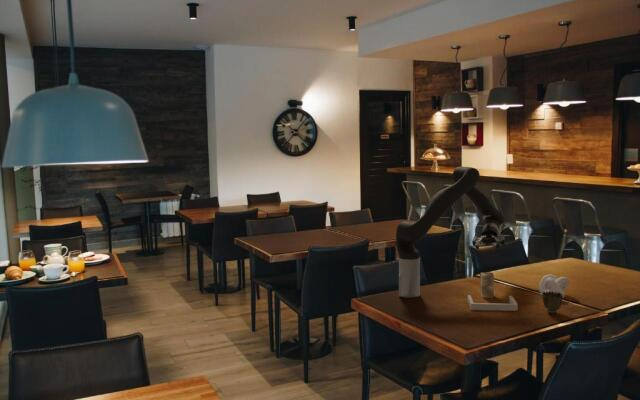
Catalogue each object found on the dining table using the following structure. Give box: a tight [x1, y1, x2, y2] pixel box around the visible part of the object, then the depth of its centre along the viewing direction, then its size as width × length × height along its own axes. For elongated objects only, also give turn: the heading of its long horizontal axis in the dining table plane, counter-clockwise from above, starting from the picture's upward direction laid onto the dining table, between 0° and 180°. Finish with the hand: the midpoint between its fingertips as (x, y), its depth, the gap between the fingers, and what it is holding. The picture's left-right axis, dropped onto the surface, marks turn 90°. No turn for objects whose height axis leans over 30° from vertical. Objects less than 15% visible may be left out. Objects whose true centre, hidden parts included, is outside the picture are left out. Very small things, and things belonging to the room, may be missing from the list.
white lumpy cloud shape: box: [538, 273, 569, 299], centre depth 252 cm, size 11×12×9 cm
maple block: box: [480, 272, 495, 299], centre depth 254 cm, size 5×5×10 cm
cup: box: [541, 291, 563, 315], centre depth 228 cm, size 8×7×8 cm
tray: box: [467, 294, 519, 312], centre depth 240 cm, size 18×13×2 cm
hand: (487, 247), depth 259 cm, fingers open, 8 cm apart
